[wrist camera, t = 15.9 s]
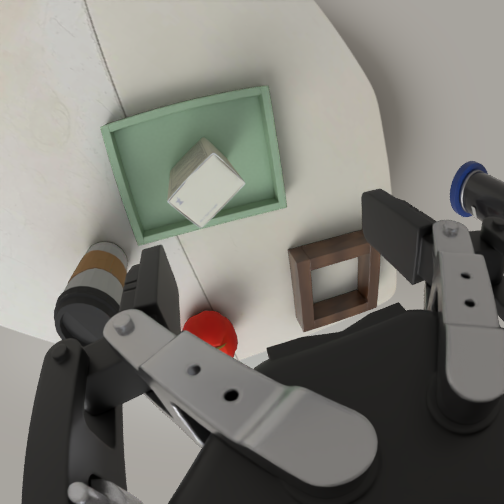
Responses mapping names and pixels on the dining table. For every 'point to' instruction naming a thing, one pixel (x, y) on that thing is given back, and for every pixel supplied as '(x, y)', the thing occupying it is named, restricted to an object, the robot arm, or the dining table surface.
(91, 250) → the coffee cup
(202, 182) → the cosmetic box
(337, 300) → the wooden square frame
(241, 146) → the tray
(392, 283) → the dining table surface
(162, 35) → the dining table surface
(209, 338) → the tomato
